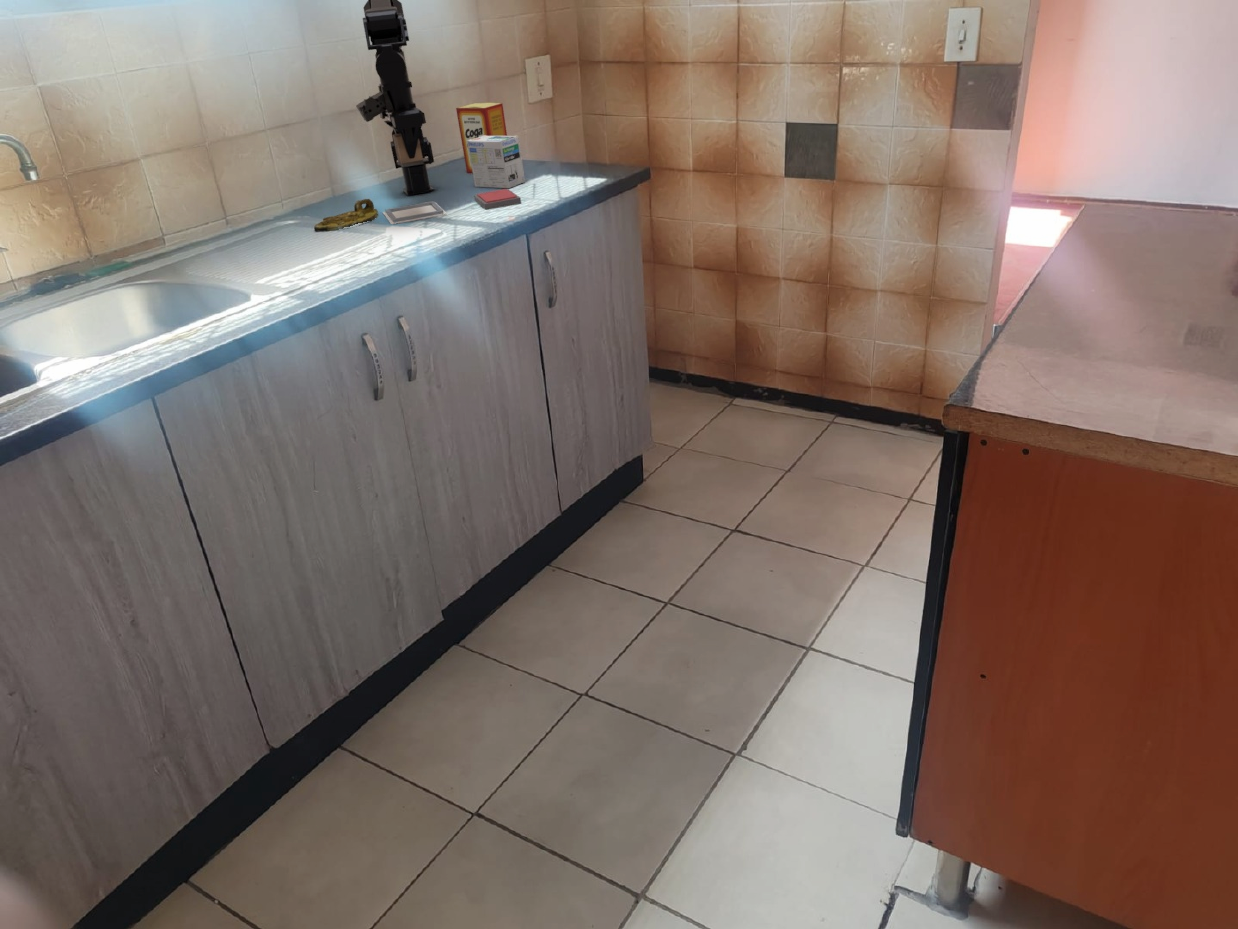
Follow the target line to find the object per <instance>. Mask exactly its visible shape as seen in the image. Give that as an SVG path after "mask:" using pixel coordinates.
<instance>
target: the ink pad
mask: <svg viewBox="0 0 1238 929" xmlns="http://www.w3.org/2000/svg"><path fill="white" fill-rule="evenodd" d="M473 198H474V202H476V203H477V204H478V205H479V206H480V207H482V208H483V209H484V210H491V209H496V208H497V209H498V208H502V207H506V206H507V207H508V206H514V205H518V204H522V199H521V197H520V196H519V195H517V194H516V193H514V192H513V191H512V190H510V188H502V189H498V190H491V191H487V192H481V193H477V194H475V195H473Z"/></svg>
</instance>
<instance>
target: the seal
mask: <svg viewBox="0 0 1238 929" xmlns="http://www.w3.org/2000/svg"><path fill="white" fill-rule="evenodd" d="M363 205H364V208H363ZM353 207H354V209H353V210H351V211H350V210H349V211H347V212H344V213H341V214H337V215H333V216H332V215H331V216H328V217H324V218H323V219H322V221H320V222H318V223H316V224H315V225H314V227H313V228H314V231H315V232H336V231H340V230H339V229H343V228H344V227H350V226H353V225H355V224H358V223H363V222H367V221H370V222H373V221H374V220H376V219H378V217H379V212H378V210H377V209H376V208H375V206H374V202H373V200H371V199H370V198H364V199H361V200H357V201H356V202H355V204H354V206H353ZM375 218H376V219H375ZM372 220H373V221H372ZM343 230H344V229H343Z"/></svg>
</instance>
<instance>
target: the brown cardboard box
mask: <svg viewBox="0 0 1238 929" xmlns="http://www.w3.org/2000/svg"><path fill="white" fill-rule="evenodd" d="M393 139H394V144H395V149H396V154H397V159H398V160H397V162H398V163H399V165H400V166H402V167H408V166H413V165H419V164H424V163H423V159H424V158H423V157H422V152H421V147H420V142H419V139H418V144H417V149H416V153H415V158H412V159H410V158H409V156H408V154H407V151H406V149H405V146H404V143H403V140H402V138H401V135H400V134H394V135H393V138H392V140H393Z"/></svg>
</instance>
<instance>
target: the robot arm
mask: <svg viewBox="0 0 1238 929" xmlns="http://www.w3.org/2000/svg"><path fill="white" fill-rule="evenodd" d="M403 9H404V8H403V4H402V2H401V1H400V0H367V1H366V2H365V4H364V6H363V13H364V17H362V22H363V24H362V25H363V28H364V34H365V39H366V44H367V45H366V46H367V50H368V51H371V50H376V51H375V53H374V56H375V71H376V73H377V75H378V77H379V82H380V83H379V84H378V92H377V93H375V94H373V95H370V96H368V98H365V99H363V101H360V102H359V103H358V104H356V108H357V110H358V112H359V113H360V116H361V117H362V119H363V120H364V121H365V122H368V123H369V122H371V121H373V120H374V118H375V117H377V116H379V117H380V118H381V120H384V121H383V122H384V123H385V124H386V125H387V126H388V127H390V128H392V132H391V136H392V141H391V140H390V148H391V152H392V153H391V154H392V157H393V163H394V166H395V167H394V168H395V169H396V170H397V169H400V168H401V171H402V175H403V177H402V178H403V181H404V186H405V188H402V191H403V192H404V193H405V194H406V195H407V196H412V195H417V194H418V195H419V194H424V193H429V192H434V191H435V188H434V187H433V186H432V185H431V183H430V179H429V173H428V168H427V165H432V164H433V163H435V160H434V154H433V149H432V144H431V142H430V141H429V140H428V138H427V136H424V133H423V130H422V126H423V125H425V124H426V123H427V120H426V115H425V113H424V112H423V111H422V110H420V109H419V108H417V105H416V103H415V102H414V100H413V95H412V93H413V92H412V88H413V84H412V81H410V80H409V74H408V67H407V63H406V56H405V52H404V50H403V49H402V48H403V47H406V46H408V44H407V42H410V36H409V32H408V25H407V21H406V19H405V14H404V10H403ZM386 118H387V120H385V119H386ZM394 134H400V135H401V138H402V140H403V143H404V146H405V149H406V151H407V154H408V156H409V158H410V159H412V158H415V153H416V149H417V144H418V139H419V142H420V147H421V152H422V157H423V163H424V164H419V165H413V166H408V167H402V166H400V165H399V163H398V159H397V154H396V149H395V144H394V139H393V135H394Z"/></svg>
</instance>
